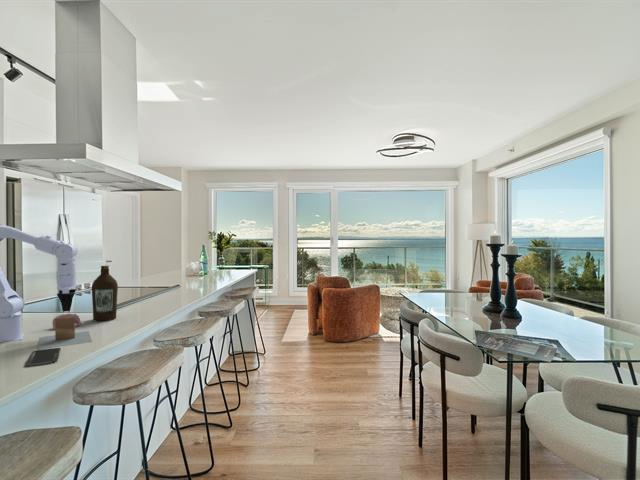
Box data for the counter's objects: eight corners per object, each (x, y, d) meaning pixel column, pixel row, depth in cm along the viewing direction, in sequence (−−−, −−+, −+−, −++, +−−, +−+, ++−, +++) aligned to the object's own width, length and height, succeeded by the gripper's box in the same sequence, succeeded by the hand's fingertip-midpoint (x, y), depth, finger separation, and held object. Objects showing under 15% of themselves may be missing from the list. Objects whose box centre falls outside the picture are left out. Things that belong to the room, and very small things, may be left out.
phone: (24, 364, 111) (32, 350, 124) (24, 368, 111) (33, 354, 124) (56, 360, 115) (61, 347, 128) (56, 364, 115) (61, 350, 128)
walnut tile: (55, 339, 138) (55, 318, 138) (74, 337, 142) (74, 316, 142) (55, 340, 137) (55, 319, 137) (74, 338, 141) (74, 317, 140)
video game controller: (79, 329, 161) (78, 313, 163) (82, 326, 158) (80, 310, 160) (52, 333, 154) (50, 317, 156) (54, 330, 151) (52, 313, 153)
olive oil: (92, 317, 176) (92, 265, 175) (118, 315, 180) (118, 264, 180) (90, 322, 166) (90, 267, 166) (117, 320, 171) (117, 266, 170)
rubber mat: (39, 338, 141) (39, 337, 141) (88, 332, 151) (88, 331, 151) (37, 350, 127) (37, 349, 127) (92, 342, 136) (92, 341, 136)
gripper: (78, 276, 140) (78, 311, 140) (79, 272, 152) (79, 305, 153) (55, 277, 136) (55, 313, 137) (58, 273, 149) (59, 307, 149)
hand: (67, 309), depth 144 cm, fingers open, 7 cm apart
